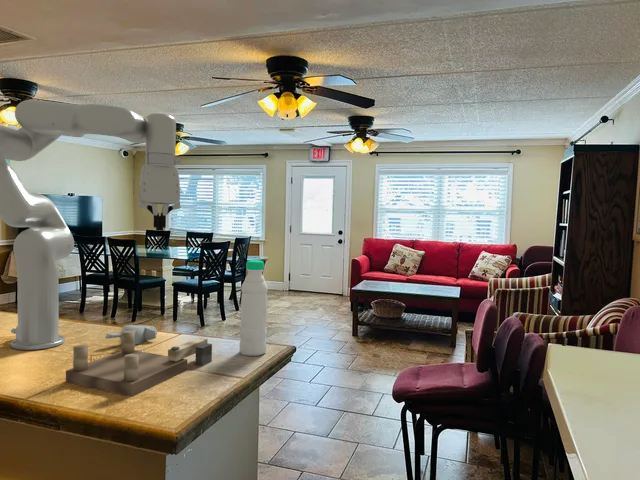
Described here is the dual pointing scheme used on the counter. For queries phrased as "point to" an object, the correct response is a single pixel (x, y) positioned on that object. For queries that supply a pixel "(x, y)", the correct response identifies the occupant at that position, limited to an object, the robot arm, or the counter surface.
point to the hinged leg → (185, 349)
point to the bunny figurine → (137, 333)
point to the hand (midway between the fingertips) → (159, 230)
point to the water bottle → (253, 310)
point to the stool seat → (128, 368)
